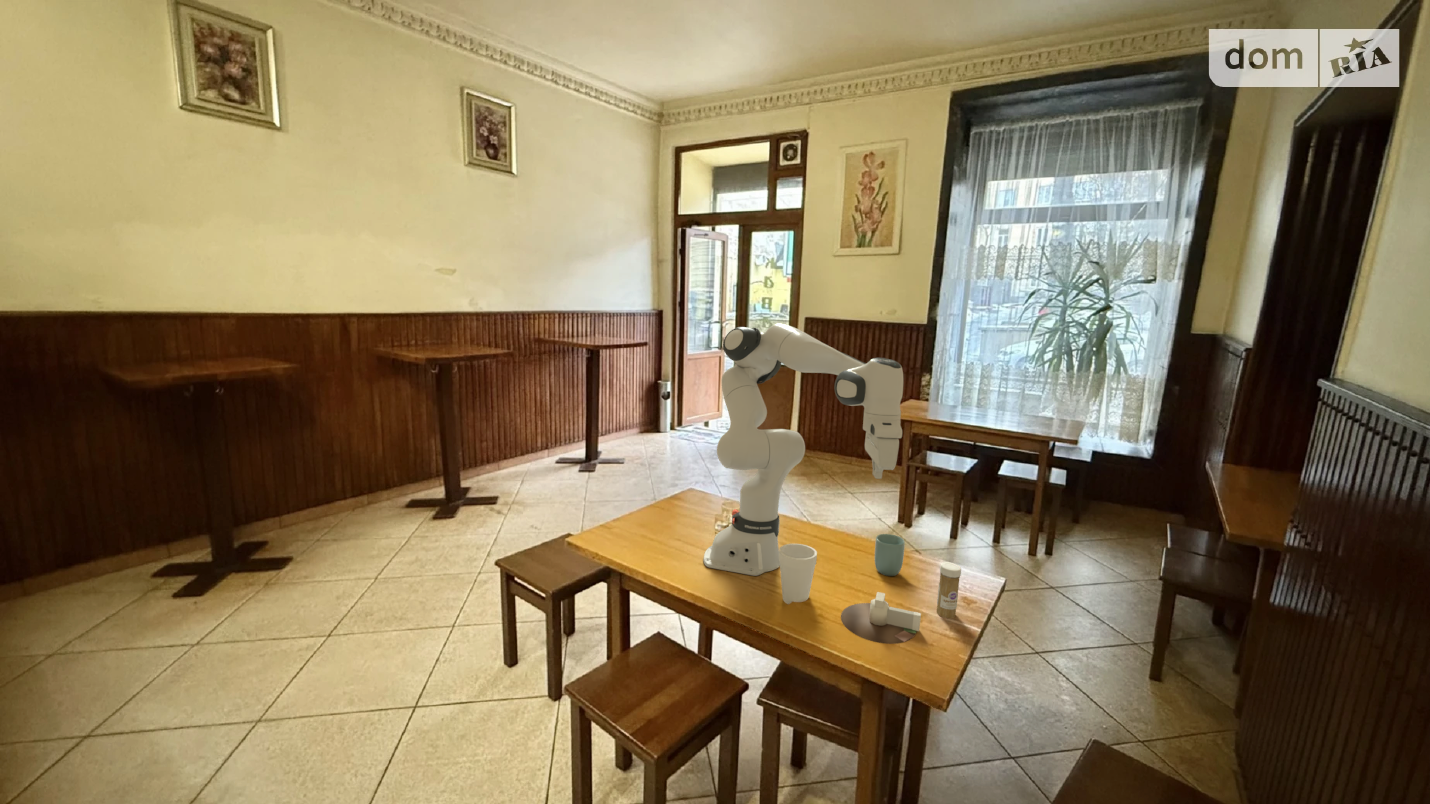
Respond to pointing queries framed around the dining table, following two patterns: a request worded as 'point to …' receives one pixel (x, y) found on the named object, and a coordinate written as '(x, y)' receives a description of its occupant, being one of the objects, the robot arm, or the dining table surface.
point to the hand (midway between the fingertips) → (877, 477)
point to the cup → (889, 554)
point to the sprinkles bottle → (948, 590)
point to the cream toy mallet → (892, 614)
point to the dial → (873, 626)
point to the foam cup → (796, 571)
